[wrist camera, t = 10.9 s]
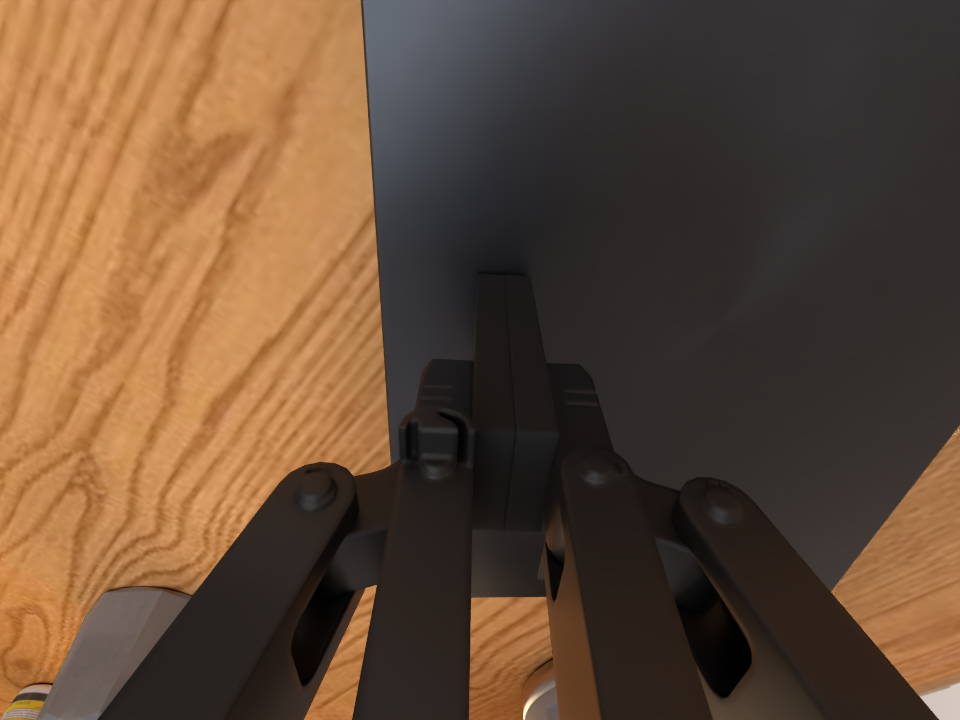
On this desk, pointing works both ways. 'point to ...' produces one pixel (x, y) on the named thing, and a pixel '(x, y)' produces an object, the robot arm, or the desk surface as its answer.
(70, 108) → the desk surface
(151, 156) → the desk surface
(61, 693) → the coffeepot
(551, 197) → the laptop screen
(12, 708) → the supplement bottle
